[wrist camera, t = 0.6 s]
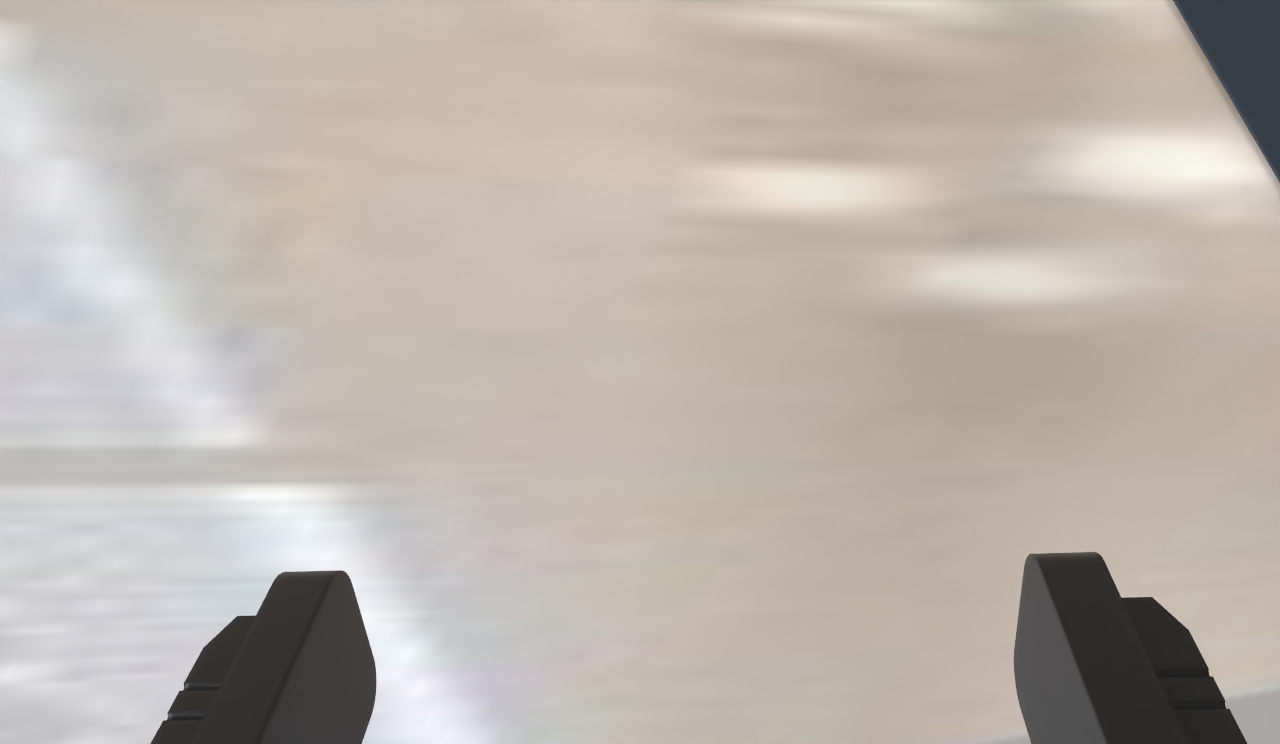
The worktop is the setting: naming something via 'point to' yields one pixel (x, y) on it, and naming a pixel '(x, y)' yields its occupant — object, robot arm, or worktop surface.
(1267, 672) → the worktop surface
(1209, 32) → the mat
